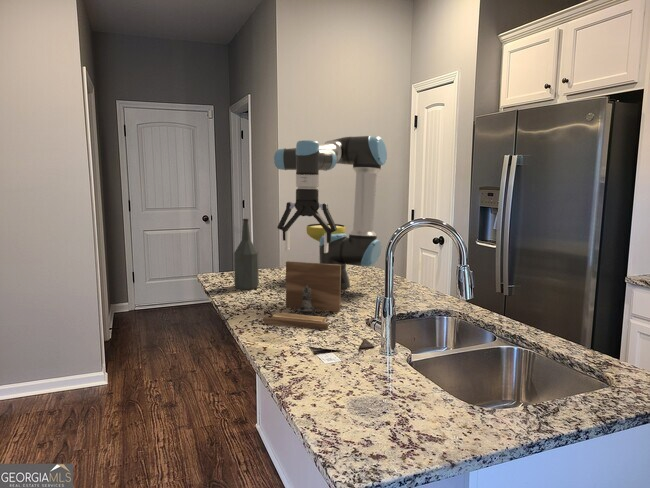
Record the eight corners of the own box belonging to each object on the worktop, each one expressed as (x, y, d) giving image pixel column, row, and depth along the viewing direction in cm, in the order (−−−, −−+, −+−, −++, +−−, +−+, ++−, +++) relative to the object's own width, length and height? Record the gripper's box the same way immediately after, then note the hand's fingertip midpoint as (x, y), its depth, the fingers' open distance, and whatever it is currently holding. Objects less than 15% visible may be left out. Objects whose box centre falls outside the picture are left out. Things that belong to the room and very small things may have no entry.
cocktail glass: (300, 276, 232) (300, 224, 228) (334, 273, 240) (334, 222, 236) (315, 284, 216) (316, 228, 212) (351, 280, 223) (352, 227, 220)
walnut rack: (285, 309, 178) (285, 261, 175) (342, 314, 172) (343, 264, 169) (263, 327, 158) (262, 273, 155) (327, 333, 152) (327, 277, 149)
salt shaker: (317, 316, 169) (317, 283, 167) (312, 321, 164) (312, 287, 162) (301, 315, 171) (301, 282, 169) (296, 320, 165) (296, 285, 163)
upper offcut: (277, 318, 163) (277, 312, 163) (325, 323, 158) (325, 317, 158) (272, 322, 159) (272, 316, 158) (321, 327, 154) (321, 321, 154)
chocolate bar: (374, 346, 140) (314, 352, 135) (374, 349, 140) (314, 356, 135) (362, 336, 149) (306, 341, 143) (362, 338, 149) (306, 344, 143)
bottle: (256, 290, 204) (255, 219, 200) (233, 290, 204) (231, 219, 200) (259, 284, 214) (259, 217, 210) (237, 284, 215) (236, 217, 210)
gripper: (267, 187, 160) (268, 250, 163) (341, 189, 153) (340, 255, 156) (276, 187, 167) (276, 247, 170) (346, 188, 160) (345, 251, 164)
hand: (306, 251), depth 163 cm, fingers open, 13 cm apart
